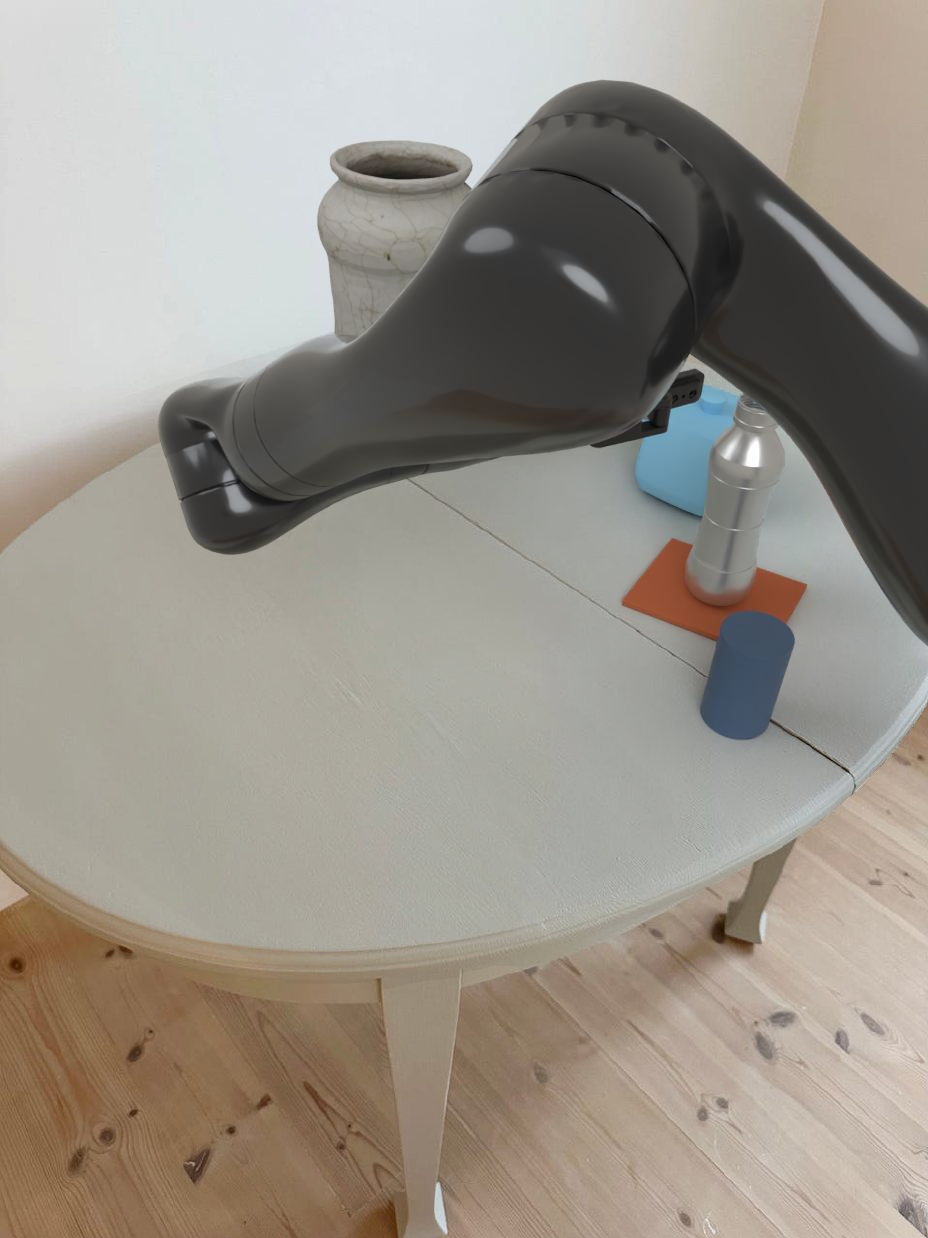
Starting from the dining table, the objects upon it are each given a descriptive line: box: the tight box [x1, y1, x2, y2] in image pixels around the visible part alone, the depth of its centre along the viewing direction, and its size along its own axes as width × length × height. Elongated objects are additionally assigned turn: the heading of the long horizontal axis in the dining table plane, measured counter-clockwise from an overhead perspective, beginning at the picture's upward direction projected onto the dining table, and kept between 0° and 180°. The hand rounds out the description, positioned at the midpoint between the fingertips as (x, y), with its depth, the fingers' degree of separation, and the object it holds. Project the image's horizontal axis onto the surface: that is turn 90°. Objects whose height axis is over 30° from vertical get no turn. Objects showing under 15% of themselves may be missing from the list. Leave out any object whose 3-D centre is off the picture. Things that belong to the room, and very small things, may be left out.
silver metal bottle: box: [685, 392, 786, 606], centre depth 84 cm, size 6×7×20 cm
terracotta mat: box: [621, 537, 808, 642], centre depth 91 cm, size 14×12×1 cm
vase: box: [316, 140, 473, 336], centre depth 107 cm, size 18×18×30 cm
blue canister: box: [699, 611, 796, 741], centre depth 76 cm, size 6×6×9 cm
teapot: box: [634, 384, 740, 517], centre depth 103 cm, size 12×18×12 cm
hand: (663, 359), depth 70 cm, fingers open, 8 cm apart
